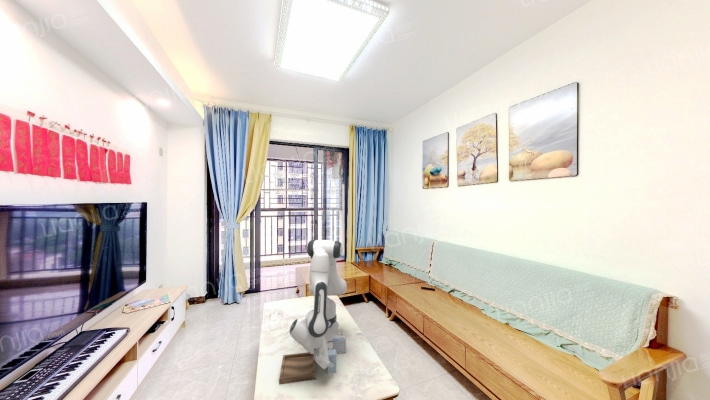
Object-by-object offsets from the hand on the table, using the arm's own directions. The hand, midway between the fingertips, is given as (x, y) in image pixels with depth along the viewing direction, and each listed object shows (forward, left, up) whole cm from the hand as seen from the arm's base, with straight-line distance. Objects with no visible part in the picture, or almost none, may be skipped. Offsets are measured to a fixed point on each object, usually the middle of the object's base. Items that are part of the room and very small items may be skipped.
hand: (332, 359), depth 128 cm
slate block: (0, 0, -6) cm, 6 cm away
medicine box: (-15, +6, -6) cm, 17 cm away
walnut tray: (-4, -18, -6) cm, 19 cm away
